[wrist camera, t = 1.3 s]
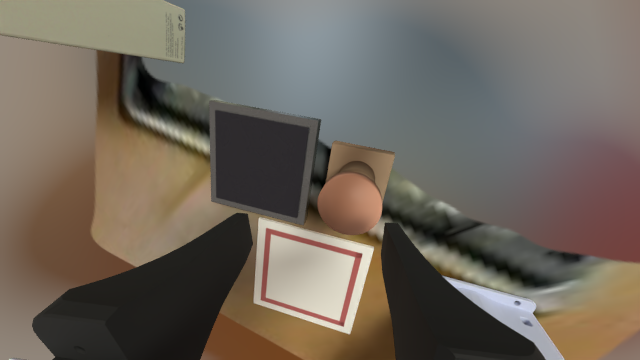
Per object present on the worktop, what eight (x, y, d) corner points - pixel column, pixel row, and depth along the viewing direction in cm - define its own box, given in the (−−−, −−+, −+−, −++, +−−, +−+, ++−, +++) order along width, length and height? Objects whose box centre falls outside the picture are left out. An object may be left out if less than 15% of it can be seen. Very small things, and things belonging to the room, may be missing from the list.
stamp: (393, 151, 20) (400, 178, 14) (379, 204, 22) (379, 250, 15) (335, 140, 21) (315, 160, 14) (326, 191, 23) (305, 230, 16)
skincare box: (187, 9, 20) (-56, -99, 9) (186, 65, 22) (-20, 34, 10) (122, -6, 21) (-175, -122, 10) (126, 49, 23) (-124, 5, 11)
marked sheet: (374, 246, 23) (373, 248, 23) (350, 332, 28) (350, 334, 27) (259, 216, 25) (258, 218, 25) (254, 300, 30) (253, 303, 29)
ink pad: (321, 119, 20) (317, 121, 19) (306, 220, 24) (303, 226, 23) (216, 100, 22) (207, 100, 21) (217, 197, 26) (210, 202, 25)
